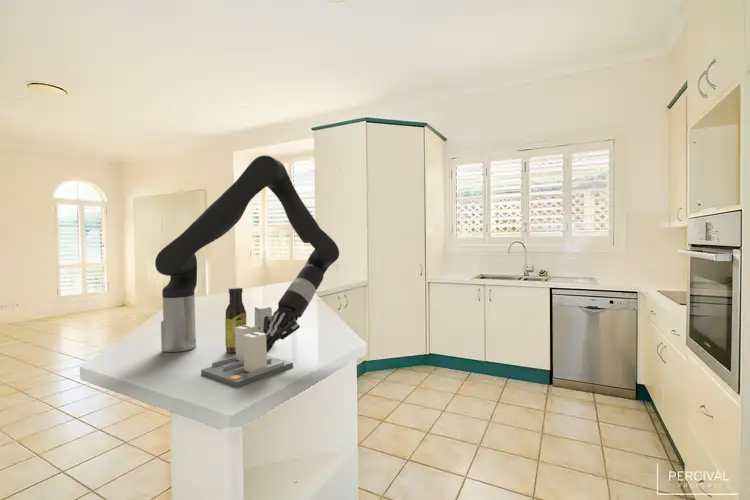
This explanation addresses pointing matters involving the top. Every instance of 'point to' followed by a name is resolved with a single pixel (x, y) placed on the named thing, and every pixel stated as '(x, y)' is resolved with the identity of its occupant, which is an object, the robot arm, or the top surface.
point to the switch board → (235, 374)
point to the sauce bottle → (234, 317)
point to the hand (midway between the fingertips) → (263, 350)
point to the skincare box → (261, 316)
